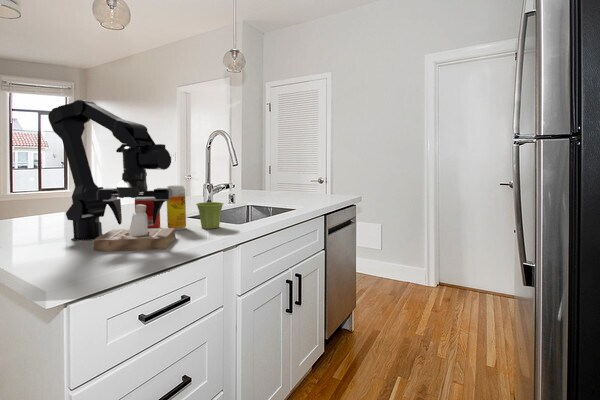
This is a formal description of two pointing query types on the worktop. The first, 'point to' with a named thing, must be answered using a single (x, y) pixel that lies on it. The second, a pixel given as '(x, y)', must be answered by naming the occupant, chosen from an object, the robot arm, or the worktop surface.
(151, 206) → the canned food
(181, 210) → the yellow canister
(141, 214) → the salt shaker
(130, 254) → the worktop surface
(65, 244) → the worktop surface
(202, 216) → the plant pot
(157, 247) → the board
